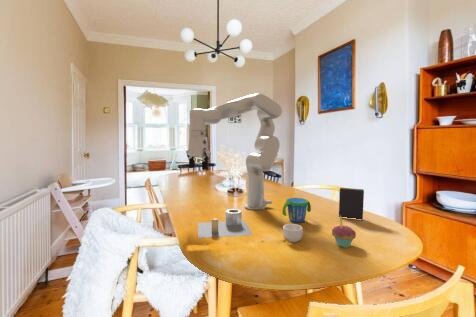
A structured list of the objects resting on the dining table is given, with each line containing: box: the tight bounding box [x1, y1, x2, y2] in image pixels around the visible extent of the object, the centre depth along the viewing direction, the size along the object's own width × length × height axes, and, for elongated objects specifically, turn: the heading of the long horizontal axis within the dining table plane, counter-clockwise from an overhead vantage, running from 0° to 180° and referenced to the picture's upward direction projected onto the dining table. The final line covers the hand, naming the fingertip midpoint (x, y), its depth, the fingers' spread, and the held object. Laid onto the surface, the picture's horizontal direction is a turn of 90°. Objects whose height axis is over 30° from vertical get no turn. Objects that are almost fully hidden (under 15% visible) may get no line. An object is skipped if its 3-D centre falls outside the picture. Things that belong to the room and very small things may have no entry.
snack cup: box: [282, 197, 312, 223], centre depth 129 cm, size 16×10×10 cm
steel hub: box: [225, 208, 243, 227], centre depth 119 cm, size 7×7×6 cm
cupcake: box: [331, 215, 357, 248], centre depth 100 cm, size 9×8×12 cm
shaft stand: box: [197, 217, 254, 239], centre depth 114 cm, size 22×18×7 cm
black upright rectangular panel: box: [338, 187, 365, 220], centre depth 132 cm, size 11×4×15 cm, turn 65°
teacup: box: [282, 223, 304, 243], centre depth 106 cm, size 10×8×5 cm
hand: (198, 168), depth 132 cm, fingers open, 9 cm apart
